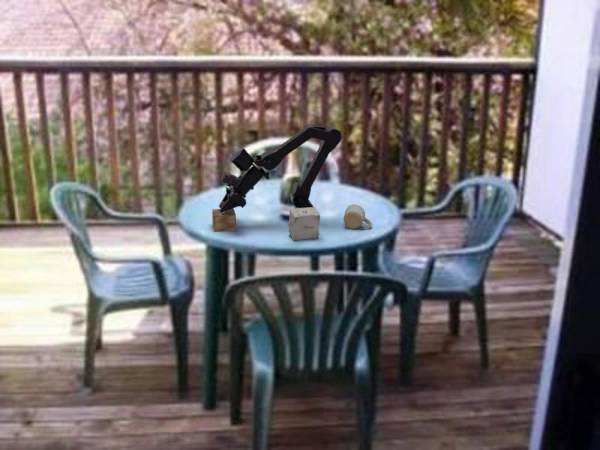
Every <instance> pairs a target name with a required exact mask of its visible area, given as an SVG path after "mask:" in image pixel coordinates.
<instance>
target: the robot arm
mask: <svg viewBox="0 0 600 450" xmlns="http://www.w3.org/2000/svg"><path fill="white" fill-rule="evenodd" d="M311 139H316V140H319V141H320V142H319V146H318V149H317V151H316V153H314V156H313V158H312V160H311V162H310V164H309V166H308V167H307V169H306V171H305V173H304V175H303V177H302V178H301V180H300V181H299V182H298V183H297V182H296V181H294V183H293V185H292V187H291V189H290V190H289V192H290V193H289V197H290V201H291V202H292V203H293V205H294V206H295V208H308V207H314V205H313V204H312V201H310V197H311V191H312V187H313V185H314V182H315V181H316V179H317V177H318V175H319V173H320V172H321V171H322V168H323V166H324V164H325V162H326V160H327V158H328V156H329V155H330V154H331V152H333V151H334V150H335V149H336V148H337V146H338V145H339V144H340V142H342V139H343V134H342V133H341V130H339V129H338V127H337V128H336V126H333V125H329V126H325V127H324V126H317V125H314V126H313V125H310V124H308V125H305V127H304V128H302V129H301V130H300V131H298V132H296V133H295V134H294V135H293V136H291V137H290V138H288V139H287V140H286V141H285V142H283V143H282V144H280V145H278V146H276V147H273V148H269V149H268V150H266V151H264V152H262V153H261V154H258V155H251V154H250V153H249V152H248V151H247V150H246V148H245V147H242V148H240V149H239V150H238V151H236V152H234V154H233V155H232V156H231V158H230V159H229V161H230V163H232V165H234V166H235V167H236V168H237V169H238V170H239V171H240V172H244V174H240V175H239V176H237V175H234V174H232V173H230V172H227V171H224V172H223V173H222V176H221V178H220V180H221V182H222V183H224V184H225V185H226V187H225V194H224V196H223V198H222V200H221V201H220V203H221V202H223V201H225V204H224V205H223V206H222V208H220V206H219V205H218V208H219V209H220V212H225V211H227V210H230V209H236V208H239V207H240V208H244V207H245V206H246V205H247V199H246V197H247V195H248V193H249V192H250V191H253V190H254V189H255V186H256V185H257V184H258V183H259V182H260V181H261V180H262V179H263V178H265V179H267V180H268V181H269V180H270V171H273V170H274V169H276V168H277V167H278V166H279V164H281V163H282V161H283V160H284V159H285V158H286V156H288V155H290V154H291V153H293V151H295V150H297V149H298V148H300V146H302V145H304V144H305V143H306V142H308V141H310V140H311ZM267 180H266V181H267Z"/></svg>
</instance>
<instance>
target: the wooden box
mask: <svg viewBox="0 0 600 450" xmlns="http://www.w3.org/2000/svg"><path fill="white" fill-rule="evenodd" d="M220 209H221V208H213V209H211V210H212V211H211V212H212V213H211V216H212V220H211V221H212V227H213V232H233V231H237V214H236V211H235V208H233V209H230V210H227V211H225V213H223V212H220Z"/></svg>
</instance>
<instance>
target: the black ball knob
mask: <svg viewBox="0 0 600 450" xmlns="http://www.w3.org/2000/svg"><path fill="white" fill-rule="evenodd" d="M224 204H225V201H223V202H221V201H220V203H219V205H218V207H219V206H220V207H219V209H221V208H222V206H223V205H224ZM223 213H225V212H223Z"/></svg>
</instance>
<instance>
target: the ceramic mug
mask: <svg viewBox="0 0 600 450" xmlns="http://www.w3.org/2000/svg"><path fill="white" fill-rule="evenodd" d="M343 223H344V225H345V226H346V227H347V228H349V229H351V230H355V229H358V228H360V227H362V228H363V229H368V230H369V228H370V229H371V228H372V226H373V222H371V221H370V219H368V218H366V212H365V209H364V208H363V207H362V206H361V205H359V204H356V203H355V204H350V205H348V206H347V208H346V209H345V211H344V215H343Z"/></svg>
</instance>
